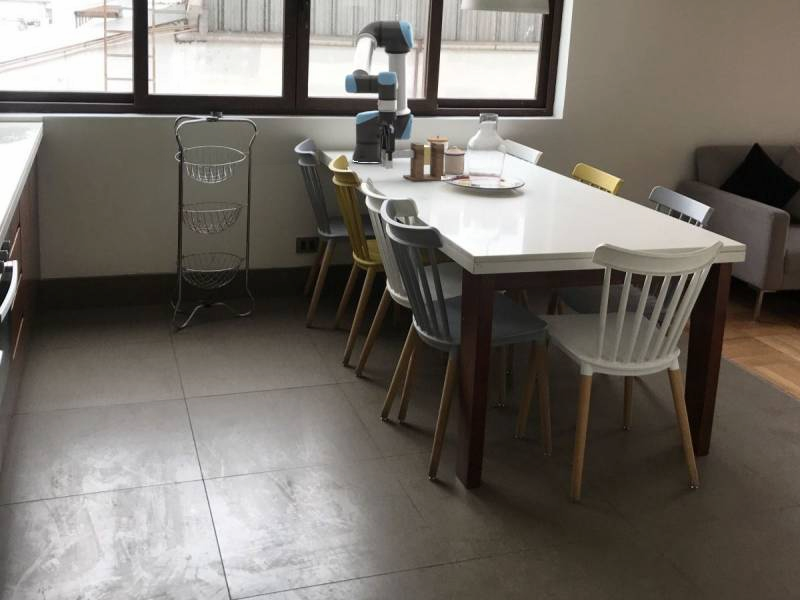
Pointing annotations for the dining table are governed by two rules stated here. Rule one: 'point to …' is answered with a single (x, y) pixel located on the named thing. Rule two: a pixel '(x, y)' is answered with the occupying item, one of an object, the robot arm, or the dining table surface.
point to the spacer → (427, 155)
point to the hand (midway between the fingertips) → (387, 167)
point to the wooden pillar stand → (418, 163)
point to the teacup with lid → (454, 161)
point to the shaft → (400, 154)
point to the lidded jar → (439, 139)
